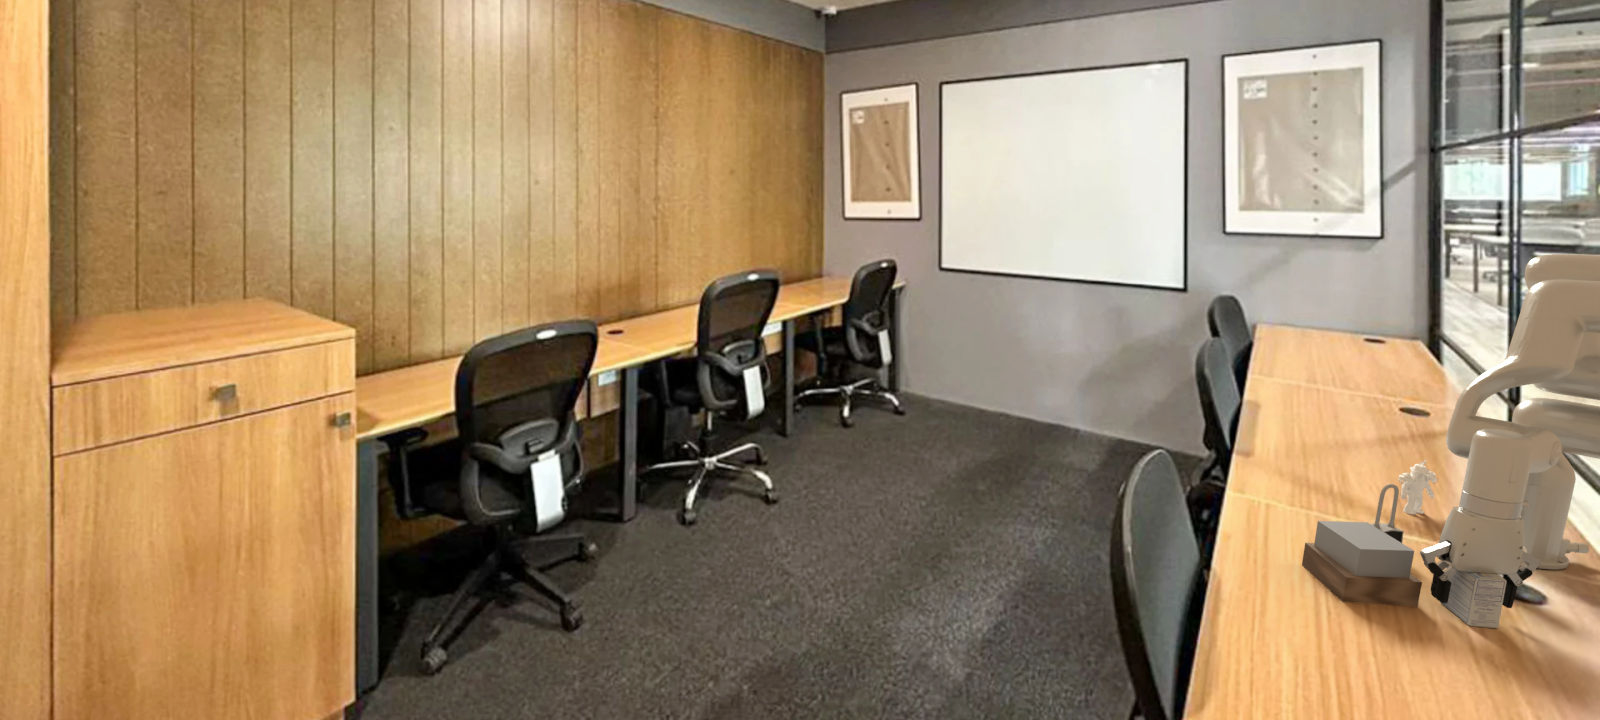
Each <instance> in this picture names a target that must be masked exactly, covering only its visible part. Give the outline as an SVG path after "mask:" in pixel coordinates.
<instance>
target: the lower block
mask: <svg viewBox="0 0 1600 720" xmlns="http://www.w3.org/2000/svg"><path fill="white" fill-rule="evenodd" d="M1301 565H1302V567H1304V568H1305V570H1307V571H1308V572H1309V573H1310V574H1311V575H1312V576H1313V577H1314V578H1316V580H1317V581H1319V582H1320V583H1321V584H1322V585H1323V586H1324V587H1325V588H1327V589H1328V590H1329V591H1330V592H1331V593H1332V594H1333V595H1335V596H1336V597H1337V599H1338V600H1340V601H1341V602H1342V603H1357V604H1369V605H1372V604H1373V605H1386V606H1387V605H1388V606H1399V607H1416V608H1418V606H1419V602H1420V596H1421V589H1422V585H1423V581H1421V580H1420V579H1418V578H1417V577H1416V576H1414V575H1413V574H1411V573H1410V577H1409V578H1399V577H1369V576H1355V575H1354V574H1352V573H1351V572H1349V571H1348V570H1347V569H1345V568H1344V567H1343V566H1341V565H1340V564H1338V563H1337V562H1336V561H1334V560H1333V559H1331V558H1330V557H1329V556H1327V555H1326V554H1325V553H1323V552H1322V551H1320V550H1319V549H1318V548H1316V547H1315V546H1314V542H1304V549H1303V555H1302V563H1301Z"/></svg>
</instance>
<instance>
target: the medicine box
mask: <svg viewBox="0 0 1600 720" xmlns="http://www.w3.org/2000/svg"><path fill="white" fill-rule="evenodd" d="M1448 567H1449V566H1448ZM1448 567H1447V568H1448ZM1447 568H1446V569H1447ZM1448 580H1449V581H1450V582H1451V588H1450V593H1449V598H1448V602H1447V603H1441V604H1442V605H1443V606H1444V607H1446V608H1447V609H1448V610H1449V611H1451V612H1452V613H1453V614H1454V615H1455V616H1456V617H1458V618H1459V619H1460V620H1461V621H1463V622H1464V623H1465V624H1466V625H1467V626H1469V627H1470V626H1471V627H1476V628H1477V627H1479V628H1490V629H1498V628H1499V624H1500V617H1501V614H1502V609H1503V605H1502V604H1503V598H1504V593H1505V588H1506V582H1507V581H1506V580H1505V579H1504V578H1502V577H1501V576H1500V575H1498V574H1491V573H1473V572H1461V571H1458V572H1457V573H1456V574H1454V575H1453V576H1452V577H1450V578H1449V579H1448Z"/></svg>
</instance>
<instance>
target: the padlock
mask: <svg viewBox="0 0 1600 720" xmlns="http://www.w3.org/2000/svg"><path fill="white" fill-rule="evenodd" d="M1391 488H1393V490H1394V491H1393V492H1394V493H1393V498H1392V505H1391V512H1390V518H1389V522H1388V523H1384V522H1383V523H1380V521H1381V517H1382V510H1383V504H1384V499H1385V494H1386V492H1387V490H1389V489H1391ZM1399 494H1400V490H1399V487H1398V486H1397V485H1396V484H1394V483H1390V484H1389V483H1388V484H1385V486H1383V487H1382V489H1381V490H1380V493H1379V499H1378V503H1377V508H1376V515H1375V521H1374V523H1370V524H1371V525H1373V526H1374V527H1376V528H1378V529H1379V530H1381V531H1383V532H1384V533H1386V534H1387V535H1389V536H1391V537H1392V538H1394V539H1396V540H1397V541H1399V542H1401V543H1402V544H1403V542H1404V541H1403V540H1404V530H1403V529H1400V528H1398V527H1395V526H1396V524H1395V519H1396V512H1397V508H1398V501H1399Z"/></svg>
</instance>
